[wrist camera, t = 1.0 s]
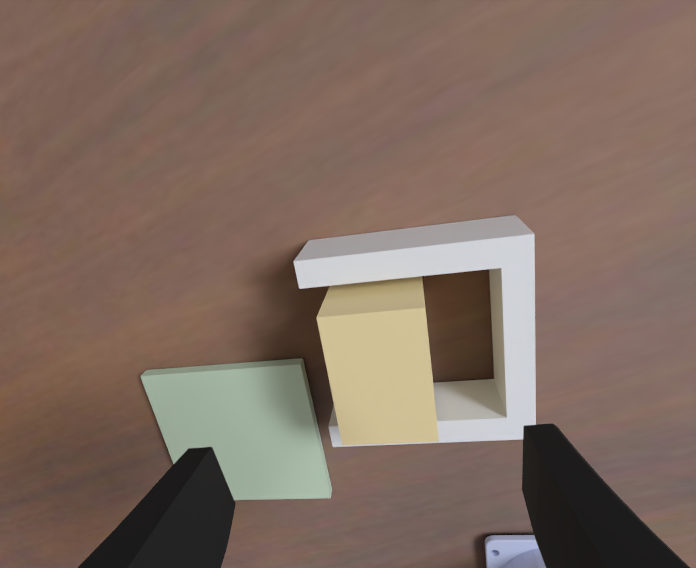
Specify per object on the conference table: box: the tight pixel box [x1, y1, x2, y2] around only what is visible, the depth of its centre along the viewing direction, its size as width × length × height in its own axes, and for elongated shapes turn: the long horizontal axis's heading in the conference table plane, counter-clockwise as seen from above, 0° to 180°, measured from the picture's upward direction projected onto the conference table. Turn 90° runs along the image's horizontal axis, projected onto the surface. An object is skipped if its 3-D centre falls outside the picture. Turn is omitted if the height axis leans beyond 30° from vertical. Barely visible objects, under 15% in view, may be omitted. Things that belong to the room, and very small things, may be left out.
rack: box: [293, 215, 536, 447], centre depth 20 cm, size 9×9×3 cm
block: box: [317, 276, 439, 446], centre depth 20 cm, size 6×4×5 cm, turn 9°
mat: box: [140, 358, 332, 500], centre depth 25 cm, size 9×9×1 cm
